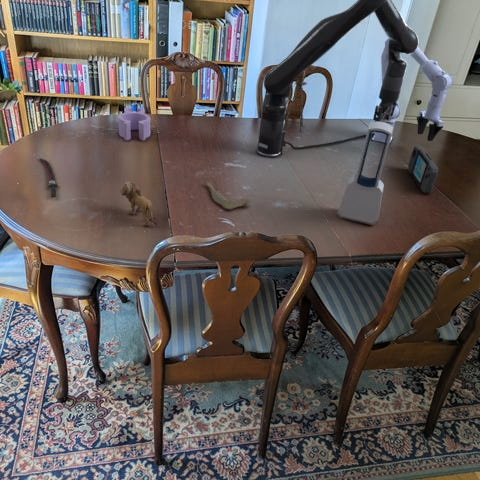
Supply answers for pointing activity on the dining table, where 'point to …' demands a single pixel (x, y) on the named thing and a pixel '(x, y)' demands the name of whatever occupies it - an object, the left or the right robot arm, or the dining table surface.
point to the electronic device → (366, 184)
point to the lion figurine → (137, 201)
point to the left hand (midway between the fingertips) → (379, 128)
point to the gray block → (384, 121)
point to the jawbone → (223, 201)
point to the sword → (52, 181)
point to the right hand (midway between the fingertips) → (424, 137)
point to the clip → (134, 123)
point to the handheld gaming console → (423, 169)
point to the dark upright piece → (297, 100)
